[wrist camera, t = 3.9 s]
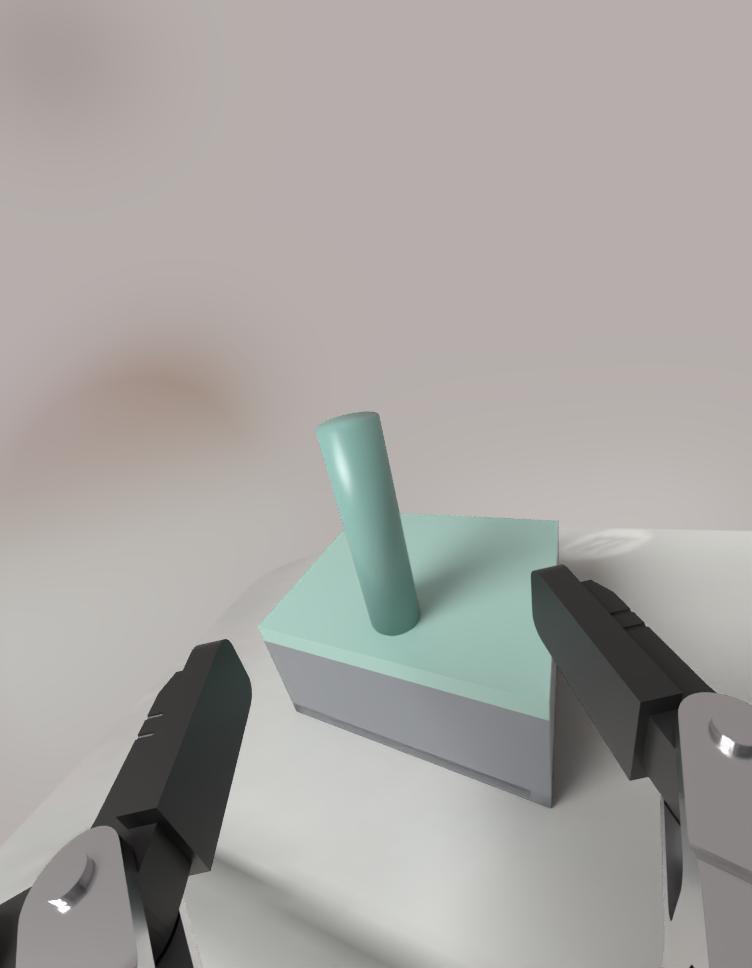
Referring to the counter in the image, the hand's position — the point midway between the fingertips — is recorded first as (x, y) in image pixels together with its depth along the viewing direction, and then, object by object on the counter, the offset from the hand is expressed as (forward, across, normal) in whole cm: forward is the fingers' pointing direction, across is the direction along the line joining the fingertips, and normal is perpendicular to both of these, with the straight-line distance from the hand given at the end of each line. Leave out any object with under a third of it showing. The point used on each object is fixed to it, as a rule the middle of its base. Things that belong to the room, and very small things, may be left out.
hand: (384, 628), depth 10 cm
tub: (+10, -2, +13) cm, 16 cm away
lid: (+10, -2, +8) cm, 13 cm away
